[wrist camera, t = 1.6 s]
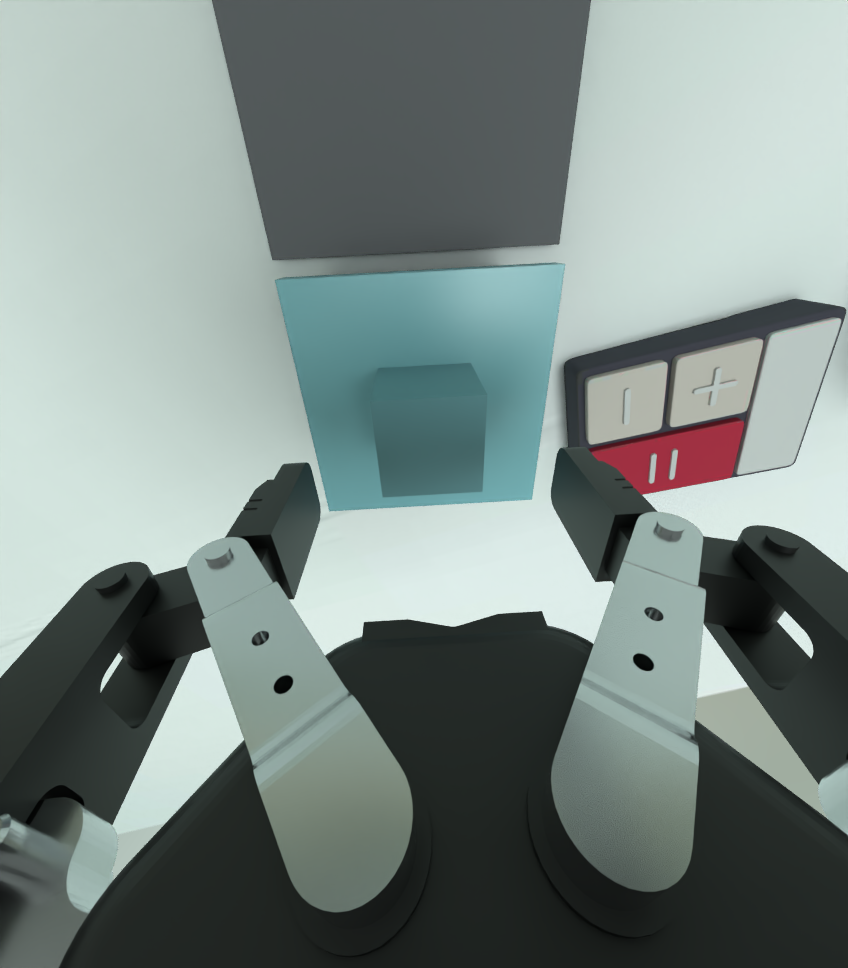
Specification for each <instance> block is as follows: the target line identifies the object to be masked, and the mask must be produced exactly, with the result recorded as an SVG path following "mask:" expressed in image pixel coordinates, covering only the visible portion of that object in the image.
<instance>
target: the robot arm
mask: <svg viewBox="0 0 848 968" xmlns="http://www.w3.org/2000/svg"><path fill="white" fill-rule="evenodd" d="M551 500H552V504H553V507H554V509H555V511H556V513H557V514H558V516H559V518H560V520H561V522H562V523H563V525H564V527H565V529H566V530H567V532H568V534H569V536H570V538H571V539H572V541H573V543H574V545H575V547H576V548H577V550H578V552H579V554H580V555H581V557H582V559H583V561H584V563H585V564H586V566H587V568H588V570H589V571H590V573H591V575H592V577H593V579H594V580H595V582H602V581H612V582H613V583H614V588H613V591H612V593H611V596H610V599H609V602H608V605H607V608H606V611H605V614H604V616H603V619H602V622H601V625H600V628H599V631H598V634H597V637H596V639H595V642H594V644H593V643H591V642H589V641H588V640H586V639H584V638H582V637H580V636H578V635H576V634H574V633H571V632H568V631H566V630H563V629H559V628H556V627H552V626H547V624H546V621H545V619H544V616H543V613H542V611H539V612H523V613H506V614H497V615H493V616H490V617H487V618H483V619H480V620H477V621H473V622H470V623H467V624H464V625H460V626H456V627H450V626H444V625H438V624H432V623H426V622H420V621H414V620H392V621H375V622H364V627H363V635H362V637H360V638H356V639H354V640H352V641H349V642H347V643H345V644H343V645H341V646H339V647H337V648H336V649H334V650H333V651H331V652H330V653H328V654H327V655H326V656H325V655H324V654H323V652H322V650H321V649H320V647H319V646H318V644H317V643H316V641H315V640H314V638H313V636H312V635H311V633H310V632H309V630H308V629H307V627H306V626H305V624H304V622H303V621H302V619H301V618H300V616H299V615H298V613H297V612H296V610H295V608H294V607H293V605H292V604H291V602H290V601H289V599H294V598H295V595H296V592H297V589H298V586H299V582H300V579H301V576H302V573H303V570H304V567H305V564H306V561H307V558H308V555H309V552H310V549H311V546H312V542H313V539H314V536H315V533H316V530H317V527H318V524H319V521H320V503H319V498H318V494H317V490H316V486H315V482H314V478H313V474H312V470H311V467H310V465H309V463H291V464H283V465H282V467H281V468H280V470H279V472H278V473H277V475H276V477H275V479H274V480H267V481H266V482H265V483H263V484H262V485H261V486H259V487H258V488H257V489H255V491H254V493H253V494H252V496H251V497H250V499H249V502H247V504H246V505H245V507H244V508H243V509H244V511H242V512H241V513H240V515H239V516H238V518H237V519H236V521H235V523H234V524H233V526H232V527H231V529H230V531H229V532H228V534H227V535H226V537H225V538H222V539H218V540H215V541H213V542H211V543H208V544H206V545H205V546H203V547H201V548H200V549H199V550H197V551H196V552H195V553H194V554H193V555H192V556H191V558H190V559H189V561H188V563H187V566H186V567H182V568H179V569H175V570H171V571H168V572H164V573H160V574H157V575H153V574H152V572H151V571H150V569H149V568H148V566H147V565H146V564H144V563H141V562H128V563H123V564H119V565H116V566H113V567H111V568H108V569H106V570H104V571H102V572H100V573H99V574H97V575H95V576H94V577H92V578H91V579H90V580H88V581H87V582H86V583H85V584H84V585H83V586H82V587H81V588H80V589H79V590H78V591H77V592H76V593H75V595H74V596H73V597H72V598H71V599H70V600H69V601H68V602H67V604H66V605H65V606H64V607H63V608H62V609H61V610H60V611H59V613H58V614H57V615H56V616H55V617H54V618H53V619H52V620H51V622H50V623H49V624H48V625H47V626H46V627H45V628H44V629H43V631H42V632H41V633H40V634H39V635H38V636H37V637H36V638H35V640H34V641H33V642H32V643H31V644H30V645H29V646H28V647H27V649H26V650H25V651H24V652H23V653H22V654H21V655H20V656H19V658H18V659H17V660H16V661H15V662H14V663H13V664H12V665H11V666H10V668H9V669H8V670H7V671H6V672H5V673H4V674H3V675H2V677H1V678H0V968H848V572H846V571H845V570H844V569H842V568H841V567H840V566H839V565H837V564H836V563H835V562H834V561H832V560H831V559H830V558H829V557H827V556H826V555H825V554H823V553H822V552H821V551H820V550H818V549H817V548H816V547H815V546H813V545H812V544H811V543H809V542H808V541H806V540H805V539H803V538H801V537H799V536H797V535H795V534H793V533H790V532H788V531H785V530H782V529H778V528H775V527H769V526H759V525H757V526H749V527H747V528H745V529H744V530H743V531H742V533H741V534H740V536H739V538H738V540H737V541H732V540H725V539H718V538H711V537H704V536H703V535H702V533H701V531H700V530H699V529H698V528H697V527H696V526H695V525H694V524H693V523H691V522H689V521H688V520H686V519H684V518H682V517H679V516H676V515H673V514H669V513H664V512H657V511H656V510H655V509H654V507H653V506H652V505H651V504H650V503H649V502H648V501H647V500H646V499H645V498H644V497H643V496H642V495H641V494H640V493H639V492H638V491H637V490H636V488H633V485H632V484H631V483H630V482H629V481H628V480H626V478H625V477H624V476H623V475H622V474H621V473H620V472H619V471H618V469H616V468H615V467H613V466H611V465H609V464H607V463H606V462H604V461H598V460H597V459H596V458H595V457H594V456H593V454H592V453H591V452H590V451H589V450H588V449H587V448H586V447H571V448H560V449H559V451H558V453H557V458H556V464H555V470H554V475H553V481H552V487H551ZM784 611H786V612H787V613H788V614H789V615H790V616H791V617H792V618H793V619H794V620H795V621H796V622H797V623H798V625H799V626H800V627H801V628H802V629H803V630H804V631H805V632H806V633H807V634H808V636H809V638H810V639H811V642H812V644H813V651H814V652H813V656H812V658H810V657H809V656H808V655H807V654H806V653H805V652H804V651H803V650H802V648H801V647H800V646H799V645H798V644H797V643H796V642H795V641H794V640H793V639H792V638H791V636H790V635H789V634H788V633H787V632H786V631H785V630H784V629H783V628H782V627H781V625H780V624H779V623H778V622H777V621H778V619H779V618H780V617H781V615H782V614H783V613H784ZM703 623H704V625H705V626H706V627H707V629H708V630H709V632H710V633H711V634H712V636H713V637H714V639H715V640H716V641H717V643H718V644H719V646H720V647H721V648H722V650H723V651H724V653H725V654H726V655H727V657H728V658H729V660H730V661H731V662H732V664H733V665H734V667H735V668H736V669H737V671H738V672H739V674H740V675H741V676H742V678H743V679H744V681H745V682H746V683H747V685H748V686H749V688H750V689H751V690H752V692H753V693H754V695H755V696H756V697H757V699H758V700H759V701H760V703H761V704H762V706H763V707H764V709H765V710H766V711H767V713H768V714H769V715H770V717H771V718H772V720H773V721H774V722H775V724H776V725H777V726H778V728H779V730H780V731H781V732H782V734H783V735H784V737H785V738H786V739H787V741H788V742H789V744H790V745H791V746H792V748H793V749H794V751H795V752H796V753H797V755H798V756H799V758H800V759H801V760H802V762H803V763H804V764H805V766H806V767H807V769H808V770H809V772H810V773H811V774H812V776H813V777H814V779H815V780H816V781H817V783H818V784H819V789H818V794H819V799H820V803H821V806H822V808H823V811H824V813H825V815H826V816H827V818H828V819H827V818H826V817H824V816H823V815H822V814H820V813H819V812H818V811H816V810H815V809H813V808H812V807H811V806H810V805H808V804H807V803H806V802H804V801H803V800H802V799H800V798H799V797H798V796H796V795H795V794H794V793H792V792H791V791H790V790H788V789H787V788H786V787H784V786H783V785H782V784H780V783H779V782H778V781H776V780H775V779H774V778H772V777H771V776H770V775H768V774H767V773H765V772H764V771H763V770H762V769H760V768H759V767H758V766H756V765H755V764H754V763H752V762H751V761H750V760H748V759H747V758H746V757H744V756H743V755H742V754H740V753H739V752H737V751H736V750H735V749H734V748H732V747H731V746H730V745H728V744H727V743H726V742H724V741H723V740H722V739H720V738H719V737H718V736H716V735H715V734H713V733H712V732H711V731H710V730H708V729H707V728H706V727H704V726H703V725H702V724H700V723H699V722H698V721H696V720H695V713H696V701H697V691H698V679H699V668H700V657H701V645H702V634H703ZM209 647H211V648H212V651H213V653H214V656H215V659H216V662H217V665H218V667H219V670H220V673H221V676H222V678H223V681H224V684H225V687H226V690H227V692H228V695H229V698H230V701H231V704H232V706H233V709H234V712H235V715H236V718H237V720H238V723H239V726H240V729H241V732H242V734H243V737H244V741H243V742H242V743H241V744H240V745H239V746H238V747H237V748H236V749H235V750H234V751H233V752H232V753H231V754H230V755H229V757H228V758H227V759H226V760H225V761H224V762H223V763H222V764H221V765H220V766H219V767H218V768H217V769H216V770H215V771H214V772H213V774H212V775H211V776H210V777H209V778H208V779H207V780H206V781H205V782H204V783H203V784H202V785H201V786H200V787H199V788H198V790H197V791H196V792H195V793H194V794H193V795H192V796H191V797H190V798H189V799H188V800H187V801H186V802H185V803H184V804H183V805H182V807H181V808H180V809H179V810H178V811H177V812H176V813H175V814H174V815H173V816H172V817H171V818H170V819H169V820H168V821H167V823H166V824H165V825H164V826H163V827H162V828H161V829H160V830H159V831H158V832H157V833H156V834H155V835H154V836H153V838H151V840H150V841H149V842H148V843H147V844H146V845H145V846H144V847H143V848H142V849H141V850H140V851H139V852H138V853H137V855H136V856H135V857H134V858H133V859H132V860H131V861H130V862H129V863H128V864H127V865H126V866H125V867H124V869H123V870H122V871H121V872H120V873H119V874H118V875H117V877H116V878H115V879H114V880H113V872H112V869H113V866H114V863H115V860H116V856H117V850H118V838H117V833H116V831H115V828H114V827H113V826H112V825H113V822H114V820H115V818H116V816H117V814H118V812H119V810H120V808H121V805H122V803H123V801H124V799H125V797H126V795H127V793H128V790H129V788H130V786H131V784H132V782H133V780H134V778H135V775H136V773H137V771H138V769H139V767H140V765H141V763H142V760H143V758H144V756H145V754H146V752H147V750H148V748H149V746H150V743H151V741H152V739H153V737H154V735H155V733H156V731H157V728H158V726H159V724H160V722H161V720H162V718H163V716H164V713H165V711H166V709H167V707H168V705H169V703H170V701H171V699H172V696H173V694H174V692H175V690H176V688H177V686H178V684H179V681H180V679H181V677H182V675H183V673H184V671H185V669H186V666H187V664H188V662H189V660H190V658H191V656H192V654H193V653H195V652H198V651H201V650H203V649H206V648H209ZM118 653H120V655H121V656H122V657H123V658H122V660H121V662H120V663H119V665H118V666H117V668H116V669H115V671H114V673H113V674H112V676H111V677H110V679H109V681H108V682H107V684H106V685H105V687H104V688H103V690H102V692H101V693H100V687H101V682H102V679H103V677H104V674H105V673H106V671H107V670H108V668H109V666H110V665H111V663H112V662H113V660H114V659H115V657H116V656H117V654H118Z"/></svg>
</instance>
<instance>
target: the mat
mask: <svg viewBox="0 0 848 968" xmlns="http://www.w3.org/2000/svg"><path fill="white" fill-rule="evenodd" d="M212 2H213V7H214V11H215V15H216V19H217V24H218V28H219V32H220V37H221V41H222V45H223V50H224V54H225V58H226V62H227V67H228V71H229V75H230V80H231V84H232V88H233V92H234V97H235V101H236V105H237V110H238V114H239V118H240V123H241V127H242V131H243V135H244V140H245V144H246V148H247V153H248V157H249V161H250V165H251V170H252V174H253V178H254V183H255V187H256V191H257V196H258V200H259V204H260V208H261V213H262V217H263V221H264V226H265V230H266V234H267V238H268V243H269V247H270V251H271V256H272V260H282V259H300V258H318V257H336V256H354V255H372V254H391V253H409V252H427V251H445V250H463V249H481V248H499V247H517V246H535V245H554V244H559V240H560V233H561V225H562V217H563V210H564V202H565V194H566V187H567V179H568V171H569V164H570V156H571V148H572V141H573V133H574V125H575V118H576V110H577V102H578V95H579V87H580V80H581V72H582V64H583V57H584V49H585V41H586V34H587V26H588V18H589V11H590V3H591V0H212Z"/></svg>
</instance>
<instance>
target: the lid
mask: <svg viewBox="0 0 848 968" xmlns="http://www.w3.org/2000/svg"><path fill="white" fill-rule="evenodd" d="M564 269H565V264H562V263H538V264H520V265H502V266H484V267H466V268H448V269H430V270H412V271H394V272H376V273H358V274H340V275H322V276H304V277H285V278H281V279H277V280H275V282H276V287H277V291H278V295H279V299H280V303H281V308H282V312H283V316H284V320H285V325H286V329H287V333H288V337H289V342H290V346H291V350H292V354H293V359H294V363H295V367H296V371H297V376H298V380H299V384H300V388H301V393H302V397H303V401H304V405H305V410H306V414H307V418H308V422H309V426H310V431H311V435H312V439H313V443H314V448H315V452H316V456H317V460H318V465H319V469H320V473H321V477H322V482H323V486H324V490H325V494H326V499H327V503H328V507H329V511H342V510H359V509H376V508H394V507H411V506H428V505H445V504H463V503H480V502H497V501H515V500H532V494H533V487H534V480H535V473H536V466H537V459H538V452H539V445H540V438H541V431H542V424H543V417H544V410H545V403H546V396H547V389H548V382H549V374H550V367H551V360H552V353H553V346H554V339H555V332H556V325H557V318H558V311H559V304H560V297H561V290H562V283H563V276H564Z"/></svg>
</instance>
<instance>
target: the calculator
mask: <svg viewBox="0 0 848 968" xmlns="http://www.w3.org/2000/svg"><path fill="white" fill-rule="evenodd" d="M845 314H846V309H845V308H844V307H840V306H835V305H829V304H823V303H817V302H811V301H806V300H800V299H792V300H788V301H784V302H780V303H777V304H773V305H769V306H766V307H762V308H758V309H754V310H751V311H747V312H743V313H739V314H736V315H732V316H730V317H728V318H726V319H723V320H719V321H715V322H711V323H707V324H703V325H699V326H695V327H691V328H687V329H683V330H679V331H675V332H671V333H667V334H663V335H659V336H655V337H651V338H647V339H643V340H639V341H636V342H632V343H628V344H624V345H620V346H617V347H613V348H609V349H605V350H602V351H598V352H594V353H590V354H587V355H583V356H579V357H576V358H572V359H569V360H568V361H567V362H566V363H565V366H564V373H565V392H566V411H567V430H568V448H571V447H586V448H587V449H588V450H589V451H590V452H591V453H592V454H593V456H594V457H595V458H596V459H597V460H598V461H604V462H606V463H607V464H609V465H611V466H613V467H615V468H616V469H618V471H619V472H620V473H621V474H622V475H623V476H624V477H625V478H626V480H628V481H629V482H630V483H631V484H632V485H633V488H636V490H637V491H638V492H639V493H640V494H641V495H643V494H649V493H654V492H659V491H665V490H670V489H675V488H681V487H686V486H691V485H697V484H702V483H707V482H713V481H718V480H723V479H727V478H732V477H738V476H743V475H748V474H754V473H759V472H764V471H769V470H775V469H780V468H785V467H789V466H791V465H793V464H794V463H795V461H796V458H797V456H798V453H799V450H800V447H801V444H802V441H803V438H804V435H805V432H806V429H807V426H808V423H809V420H810V418H811V415H812V412H813V409H814V406H815V403H816V400H817V397H818V394H819V391H820V388H821V385H822V382H823V379H824V376H825V374H826V371H827V368H828V365H829V362H830V359H831V356H832V353H833V350H834V347H835V344H836V341H837V338H838V335H839V332H840V330H841V327H842V324H843V321H844V318H845Z"/></svg>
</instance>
